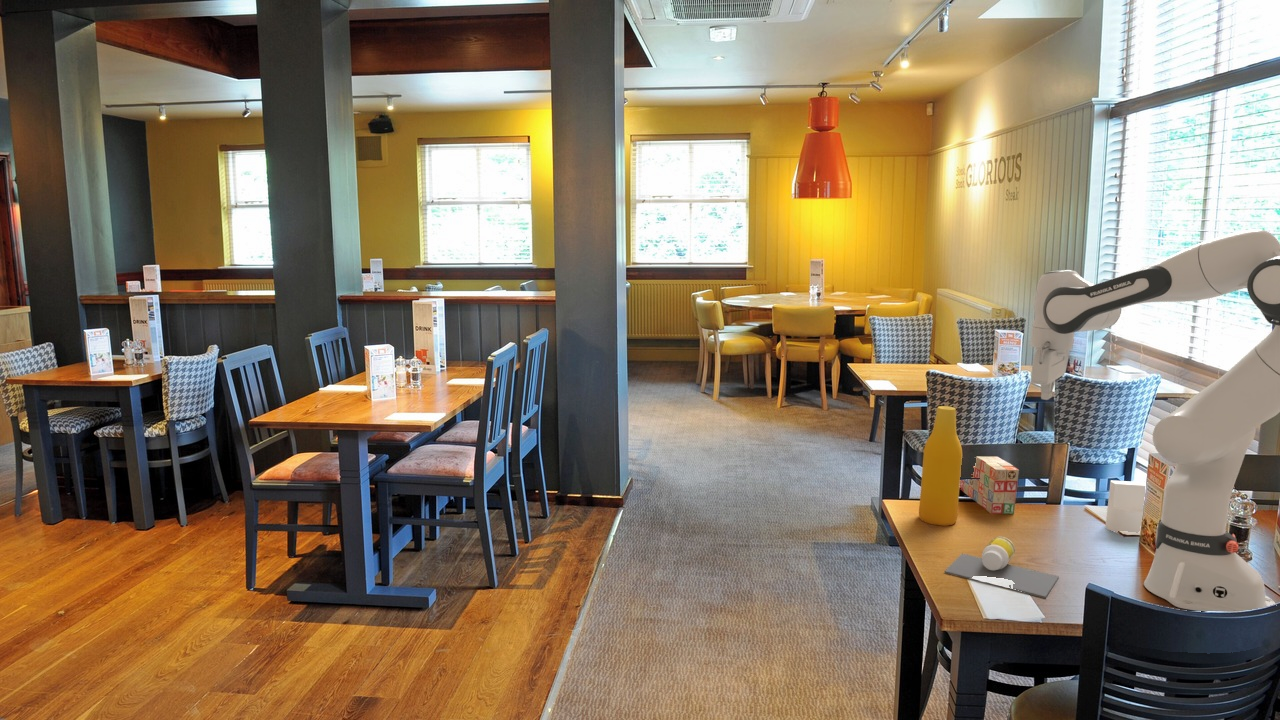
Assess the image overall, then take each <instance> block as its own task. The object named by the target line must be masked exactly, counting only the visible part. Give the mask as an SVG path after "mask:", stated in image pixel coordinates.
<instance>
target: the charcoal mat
mask: <svg viewBox="0 0 1280 720" xmlns="http://www.w3.org/2000/svg"><path fill="white" fill-rule="evenodd" d="M943 573H945V574H947V575H952V576H956V577H959V578H963V579H967V578H972V577H973V576H987V577H996V578H1004V579H1008V580H1012V581H1013V582H1014V583H1015V584H1013V589H1016V590H1019V591H1022V592H1025V593H1024V594H1026V593H1028V594H1027V595H1030V596H1035V597H1040V598H1043V599H1046V598H1047V597H1048V595H1049V594H1050V592H1051V591H1052V589H1053V588H1054V586H1055V584H1056V583H1057V582H1058V580H1059V575H1056V574H1055V575H1054V574H1049V573H1046V572H1042V571H1039V570H1038V571H1037V570H1033V569H1031V568H1025V567H1021V566H1017V565H1014V564H1013V565H1012V564H1010V563H1008V564H1007V565H1006V566H1005V567H1004V568H1002V569H999V570H989V569H987V568H986V567H985V566H984V565H983V562H982V557H979V556H976V555H970V554H966V553H961V554H960V555H959V556H958V557H957V558H956V559H955V560H954V561H953V562H952V563H950V565H949V566H948V567H947V568H946V569H945V570H944V572H943ZM1009 587H1010V588H1011V585H1009ZM1022 592H1021V593H1022Z"/></svg>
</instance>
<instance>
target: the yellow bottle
mask: <svg viewBox="0 0 1280 720" xmlns="http://www.w3.org/2000/svg"><path fill="white" fill-rule="evenodd" d="M956 414H957V412H956V407H954V406H953V407H952V406H947V405H944V406H943V405H941V406H937V409H936V415H935V420H934V424H933V425H934V426H933V429H932V432H931V433H930V435H929V437H928V438H927V440H926V442H925V445H924V447H923V458H922V471H921V482H920V495H919V496H920V497H919V507H918V516H919V519H920V520H921V521H922V522H925V524H930V525H933V526H944V527H945V526H946V527H947V526H953V525H954V524H956V523H957V520H958V514H959V513H958V511H959V501H960V500H959V497H960V477H961V465H962V458H963V449H962V445H961V441H960V439H959V436H958V434H957V416H956Z"/></svg>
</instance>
